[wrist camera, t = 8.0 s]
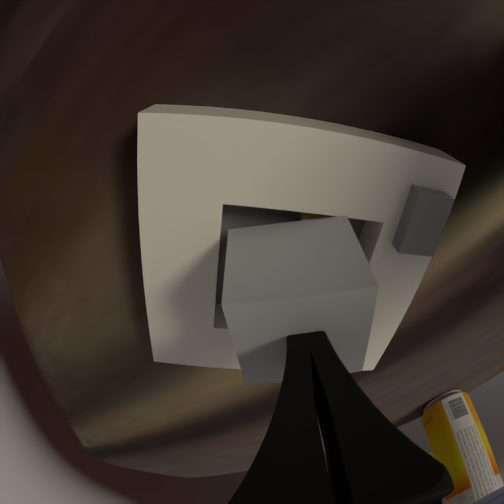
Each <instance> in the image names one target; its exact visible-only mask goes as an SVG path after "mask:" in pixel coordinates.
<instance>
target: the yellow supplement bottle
mask: <svg viewBox="0 0 504 504" xmlns="http://www.w3.org/2000/svg"><path fill="white" fill-rule="evenodd" d="M423 412H424V413H423V416H422V418H421V420H422V423H423V426H424V429H425V432H426V435H427V437H428V441H429V444H430V447H431V450H432V453H433V456H434V458H435V459H436V460H438V461H439V462H441V463H442V464H444V465H445V466H446V468H447V470H448V472H449V474H450V476H451V478H452V480H453V483H454V487H455V488H454V490H453V492H452V493H450V494H449V495H447V496H446V501H447V504H470V503H472V502H474V501H476V500H478V499H480V498H482V497H484V496H486V495H488V494H490V493H492V492H494V491H496V490H497V489H499V488H501V487H503V486H504V485H503V482H502V479H501V476H500V473H499V470H498V467H497V464H496V461H495V458H494V456H493V453H492V450H491V448H490V445H489V443H488V440H487V437H486V435H485V432H484V430H483V428H482V425H481V423H480V420H479V418H478V416H477V413H476V411H475V409H474V406H473V404H472V402H471V400H470V398H469V395H468V394H467V393H465V392H462V391H461V390H452V391H449V392H447V393H444V394H442V395H440V396H439V397H437V398H435V399H434V400H433V401H431V402H430V403H429V404H428V405H427V406H426V407H425V409H424V411H423Z"/></svg>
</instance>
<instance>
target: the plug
mask: <svg viewBox="0 0 504 504" xmlns="http://www.w3.org/2000/svg"><path fill="white" fill-rule="evenodd" d="M300 214H301V221H294V222H285V223H277V224H268V225H260V226H252V227H244V228H236V229H228V239H227V249H226V260H225V271H224V282H223V293H222V309H223V312H224V316H225V319H226V322H227V326H228V329H229V332H230V336H231V339H232V342H233V345H234V349H235V352H236V355H237V358H238V362H239V365H240V368H241V371H242V374H243V377H244V381H245V384H246V385H253V384H265V383H276V382H282V380H283V375H284V370H285V363H286V353H287V342H286V337H288V336H289V335H294V334H301V333H308V332H315V331H322V330H323V331H324V332H326V334H327V336H328V338H329V340H330V342H331V344H332V346H333V348H334V350H335V351H336V353H337V355H338V356H339V358H340V360H341V361H342V363H343V364H344V366H345V367H346V369H347V370H348V372H349V373H352V372H358V371H362V369H363V365H364V360H365V356H366V351H367V347H368V342H369V337H370V332H371V327H372V322H373V316H374V311H375V305H376V299H377V293H378V287H379V286H378V284H377V281H376V279H375V277H374V274H373V272H372V270H371V267H370V265H369V263H368V261H367V258H366V256H365V254H364V252H363V250H362V247H361V245H360V243H359V241H358V239H357V237H356V235H355V232H354V230H353V228H352V226H351V224H350V222H349V220H348V218H347V216H339V217H329V216H328V215H322V214H313V213H305V212H300Z"/></svg>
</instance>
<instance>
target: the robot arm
mask: <svg viewBox="0 0 504 504" xmlns="http://www.w3.org/2000/svg"><path fill="white" fill-rule="evenodd" d="M286 342H287V353H286V363H285V370H284V375H283V380H282V385H281V390H280V393H279V397H278V401H277V404H276V408H275V411H274V414H273V417H272V420H271V423H270V425H269V428H268V430H267V433H266V435H265V438H264V440H263V442H262V445H261V447H260V449H259V451H258V453H257V455H256V457H255V459H254V461H253V463H252V465H251V467H250V469H249V470H248V472H247V474H246V476H245V478H244V479H243V481H242V483H241V484H240V486H239V488H238V489H237V491H236V492H235V494H234V495H233V497H232V498H231V500H230V501H229V503H228V504H442V500H441V499H442V498H444V497H446V496H447V495H449V494H450V493H452V492H453V490H454V488H455V487H454V483H453V480H452V478H451V476H450V474H449V472H448V470H447V468H446V466H445V465H444V464H442V463H441V462H439V461H438V460H436V459H435V458H433V457H432V456H431V455H429V454H428V453H426V452H425V451H424V450H422V449H421V448H420V447H419V446H417V445H416V444H415V443H413V442H412V441H411V440H410V439H409V438H408V437H406V436H405V435H404V434H403V433H402V432H401V431H400V430H399V429H397V428H396V427H395V426H394V425H393V424H392V423H391V422H390V421H389V420H388V419H387V418H386V417H385V416H384V415H383V414H382V413H381V412H380V411H379V409H378V408H377V407H376V406H375V405H374V404H373V403H372V402H371V400H370V399H369V398H368V397H367V396H366V394H365V393H364V392H363V391H362V389H361V388H360V387H359V386H358V384H357V383H356V382H355V380H354V379H353V377H352V376H351V374H350V373H349V372H348V370H347V369H346V367H345V366H344V364H343V363H342V361H341V360H340V358H339V356H338V355H337V353H336V351H335V350H334V348H333V346H332V344H331V342H330V340H329V338H328V336H327V334H326V332H324V331H323V330H322V331H315V332H308V333H301V334H294V335H289V336H288V337H286ZM316 414H317V415H316ZM317 418H318V420H317ZM318 422H319V425H320V429H321V433H322V437H323V442H324V447H325V453H326V460H327V466H326V461H325V456H324V451H323V446H322V441H321V436H320V431H319V426H318ZM327 468H328V471H327ZM470 504H504V486H503V487H501V488H499V489H497V490H496V491H494V492H492V493H490V494H488V495H486V496H484V497H482V498H480V499H478V500H476V501H474V502H472V503H470Z"/></svg>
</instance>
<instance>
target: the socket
mask: <svg viewBox="0 0 504 504" xmlns="http://www.w3.org/2000/svg"><path fill="white" fill-rule="evenodd" d="M465 167H466V165H464V164H463V163H461V162H459V161H458V160H456V159H455V158H453V157H451V156H450V155H448V154H446V153H444V152H443V151H441V150H439V149H436V148H433V147H430V146H426V145H423V144H419V143H416V142H412V141H409V140H405V139H401V138H397V137H393V136H390V135H386V134H381V133H377V132H373V131H369V130H364V129H360V128H355V127H351V126H346V125H341V124H336V123H331V122H325V121H320V120H314V119H308V118H302V117H296V116H289V115H282V114H275V113H267V112H259V111H250V110H241V109H230V108H218V107H205V106H187V105H157V104H155V105H153V106H151V107H149V108H147V109H145V110H143V111H141V112H139V113H138V135H137V175H138V209H139V229H140V245H141V258H142V270H143V281H144V291H145V300H146V309H147V317H148V325H149V332H150V339H151V346H152V353H153V359H154V361H155V362H163V363H172V364H181V365H190V366H201V367H213V368H226V369H241V368H240V365H239V362H238V358H237V355H236V352H235V349H234V345H233V342H232V339H231V336H230V332H229V329H228V326H227V322H226V319H225V316H224V312H223V309H222V293H223V282H224V271H225V260H226V249H227V239H228V229H236V228H244V227H252V226H260V225H268V224H277V223H285V222H294V221H301V214H300V212H305V213H313V214H322V215H328V216H329V217H339V216H347V218H348V220H349V222H350V224H351V226H352V228H353V230H354V232H355V235H356V237H357V239H358V241H359V243H360V245H361V247H362V250H363V252H364V254H365V256H366V258H367V261H368V263H369V265H370V267H371V270H372V272H373V274H374V277H375V279H376V281H377V284H378V286H379V287H378V293H377V299H376V305H375V311H374V316H373V322H372V327H371V332H370V337H369V342H368V347H367V351H366V356H365V360H364V365H363V369H362V371H363V370H373V369H374V368H375V366H376V364H377V363H378V361H379V359H380V358H381V356H382V354H383V353H384V351H385V349H386V347H387V346H388V344H389V342H390V340H391V339H392V337H393V335H394V333H395V331H396V330H397V328H398V326H399V324H400V322H401V320H402V319H403V317H404V315H405V313H406V311H407V309H408V307H409V305H410V303H411V301H412V299H413V297H414V295H415V293H416V291H417V289H418V287H419V285H420V283H421V281H422V278H423V276H424V274H425V272H426V270H427V267H428V265H429V263H430V261H431V258H432V256H433V254H434V252H435V249H436V247H437V244H438V242H439V240H440V237H441V235H442V232H443V230H444V227H445V225H446V222H447V219H448V217H449V214H450V211H451V209H452V206H453V203H454V200H455V198H456V195H457V192H458V189H459V186H460V183H461V180H462V177H463V173H464V170H465Z"/></svg>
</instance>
